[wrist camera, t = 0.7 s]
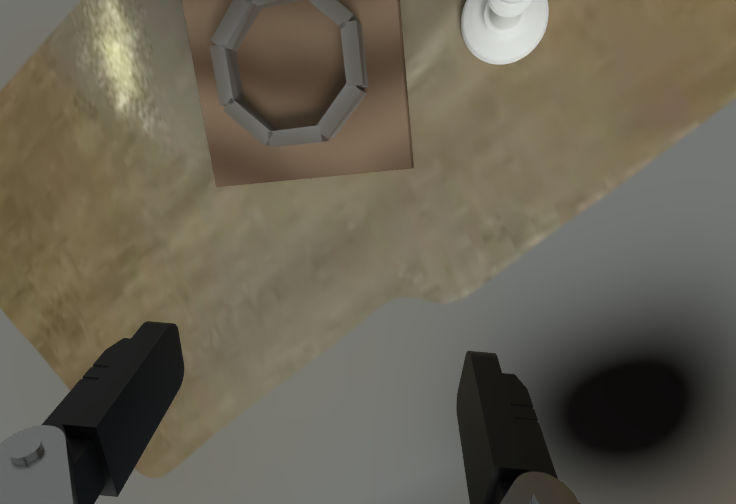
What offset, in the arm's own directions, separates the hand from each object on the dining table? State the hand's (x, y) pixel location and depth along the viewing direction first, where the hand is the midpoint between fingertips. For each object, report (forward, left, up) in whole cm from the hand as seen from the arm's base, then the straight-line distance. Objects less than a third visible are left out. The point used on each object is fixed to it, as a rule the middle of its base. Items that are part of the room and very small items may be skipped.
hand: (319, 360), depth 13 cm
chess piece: (-12, +6, -20) cm, 24 cm away
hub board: (-11, -7, -19) cm, 23 cm away
